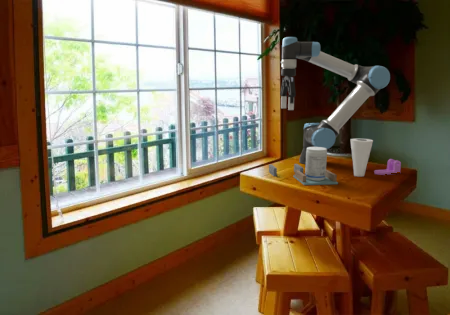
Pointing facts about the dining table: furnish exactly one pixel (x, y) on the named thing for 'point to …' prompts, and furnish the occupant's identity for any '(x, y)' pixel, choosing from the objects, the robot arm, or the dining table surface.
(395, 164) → the bracket
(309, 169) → the supplement tub
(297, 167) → the holder
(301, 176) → the docking bay
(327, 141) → the robot arm
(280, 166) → the dining table surface
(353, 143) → the cup
